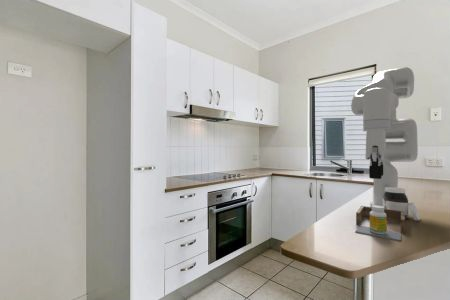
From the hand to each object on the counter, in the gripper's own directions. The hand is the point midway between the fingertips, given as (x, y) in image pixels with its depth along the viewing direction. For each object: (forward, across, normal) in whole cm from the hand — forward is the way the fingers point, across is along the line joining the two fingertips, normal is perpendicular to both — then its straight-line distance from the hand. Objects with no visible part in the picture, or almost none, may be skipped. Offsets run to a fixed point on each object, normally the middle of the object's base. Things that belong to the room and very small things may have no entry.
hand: (376, 176), depth 75 cm
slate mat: (+19, +1, 0) cm, 19 cm away
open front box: (+19, -10, 0) cm, 21 cm away
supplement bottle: (+18, +1, 0) cm, 18 cm away
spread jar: (+19, -26, +6) cm, 33 cm away
